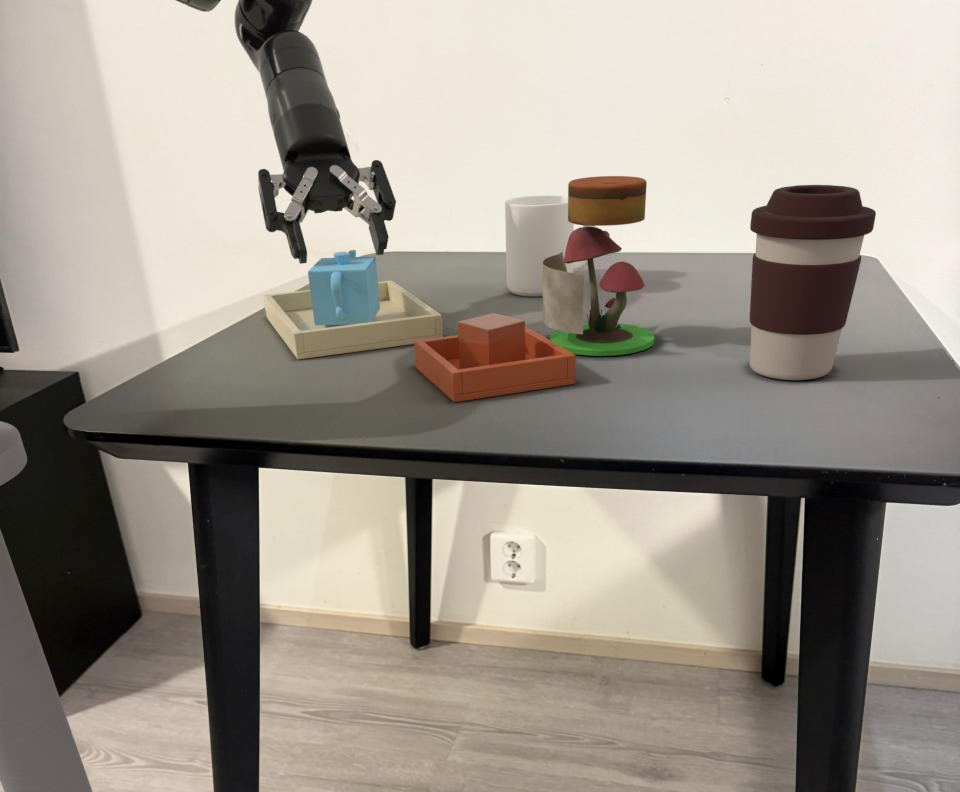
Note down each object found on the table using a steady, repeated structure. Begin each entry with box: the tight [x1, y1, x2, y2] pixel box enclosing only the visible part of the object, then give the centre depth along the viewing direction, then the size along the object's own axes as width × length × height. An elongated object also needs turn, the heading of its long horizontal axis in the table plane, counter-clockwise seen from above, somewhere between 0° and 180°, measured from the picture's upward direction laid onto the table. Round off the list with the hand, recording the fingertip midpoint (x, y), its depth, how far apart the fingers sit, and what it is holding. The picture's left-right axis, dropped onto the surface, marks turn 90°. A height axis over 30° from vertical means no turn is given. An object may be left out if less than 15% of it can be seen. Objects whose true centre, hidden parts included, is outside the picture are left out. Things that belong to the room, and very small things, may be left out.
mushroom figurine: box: [542, 175, 655, 357], centre depth 91 cm, size 12×13×15 cm
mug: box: [504, 195, 596, 298], centre depth 114 cm, size 12×8×10 cm
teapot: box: [307, 249, 380, 328], centre depth 101 cm, size 12×6×8 cm, turn 177°
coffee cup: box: [749, 184, 877, 381], centre depth 80 cm, size 10×10×15 cm
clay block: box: [457, 312, 526, 369], centre depth 85 cm, size 4×4×4 cm
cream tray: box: [262, 280, 444, 360], centre depth 103 cm, size 16×20×3 cm
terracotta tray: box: [413, 325, 577, 403], centre depth 86 cm, size 12×12×3 cm
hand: (342, 254), depth 99 cm, fingers open, 8 cm apart
